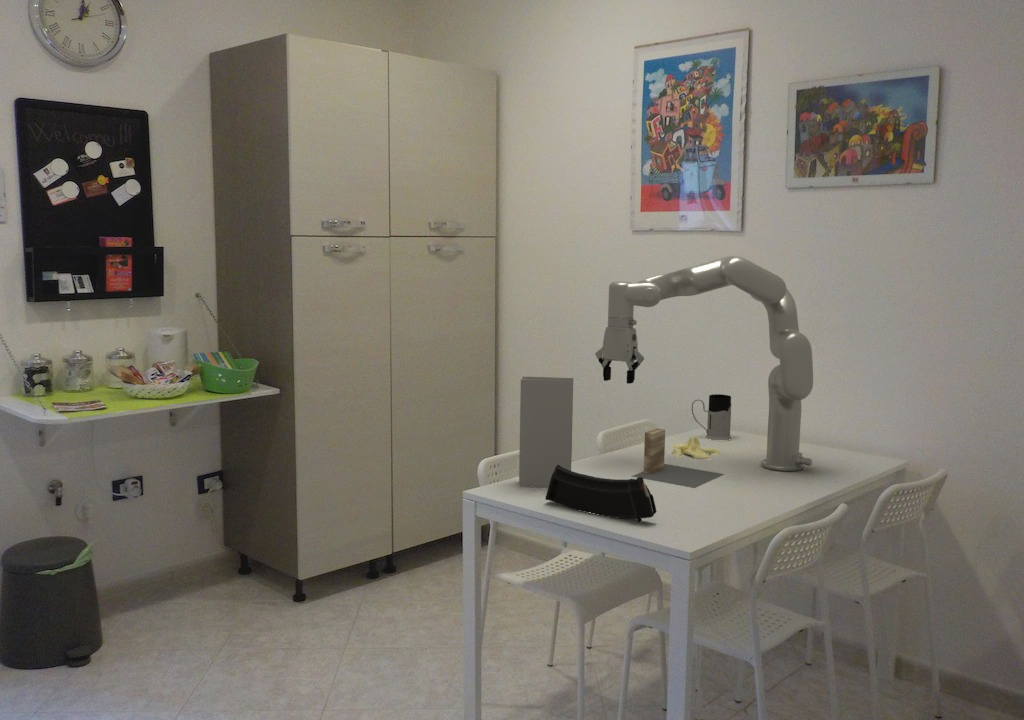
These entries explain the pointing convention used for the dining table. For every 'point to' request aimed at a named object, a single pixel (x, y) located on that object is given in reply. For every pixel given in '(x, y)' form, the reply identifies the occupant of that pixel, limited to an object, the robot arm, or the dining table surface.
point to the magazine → (601, 495)
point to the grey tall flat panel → (544, 428)
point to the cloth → (693, 449)
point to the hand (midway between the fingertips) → (618, 381)
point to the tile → (654, 451)
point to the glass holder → (717, 417)
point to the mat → (680, 476)
